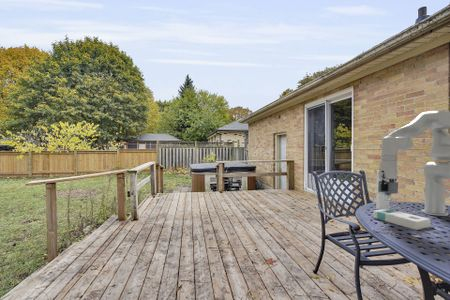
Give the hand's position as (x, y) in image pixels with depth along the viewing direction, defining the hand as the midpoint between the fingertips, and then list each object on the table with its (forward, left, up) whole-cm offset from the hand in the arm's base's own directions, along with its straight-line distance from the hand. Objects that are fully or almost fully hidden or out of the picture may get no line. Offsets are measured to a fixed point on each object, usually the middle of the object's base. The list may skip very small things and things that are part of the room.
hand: (387, 190), depth 139 cm
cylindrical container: (-18, -14, -16) cm, 29 cm away
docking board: (0, +7, -16) cm, 17 cm away
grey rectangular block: (0, 0, -6) cm, 6 cm away
